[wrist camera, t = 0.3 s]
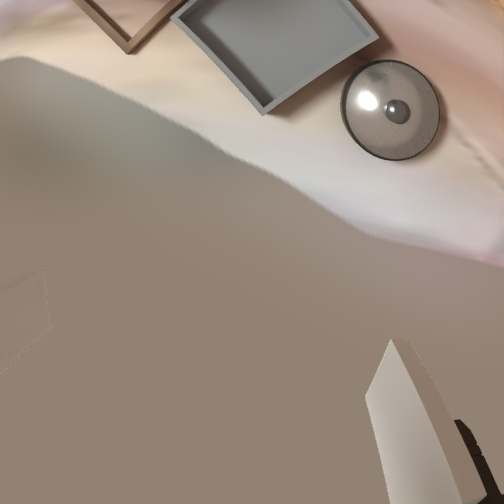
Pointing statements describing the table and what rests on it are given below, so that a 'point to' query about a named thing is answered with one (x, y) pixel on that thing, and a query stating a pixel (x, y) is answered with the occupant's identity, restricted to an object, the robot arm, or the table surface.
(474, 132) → the table surface
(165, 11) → the square wooden frame
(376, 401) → the robot arm
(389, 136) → the metal pot lid
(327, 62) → the tray
